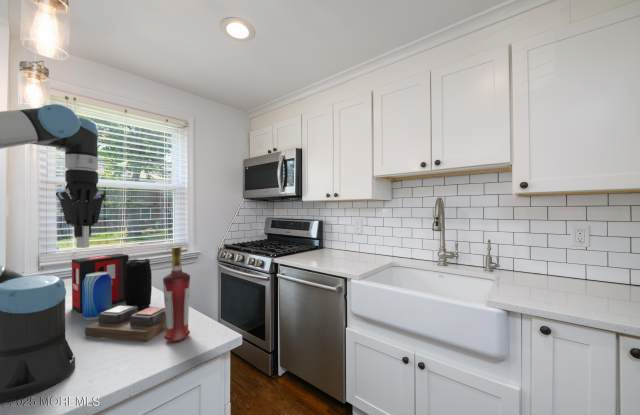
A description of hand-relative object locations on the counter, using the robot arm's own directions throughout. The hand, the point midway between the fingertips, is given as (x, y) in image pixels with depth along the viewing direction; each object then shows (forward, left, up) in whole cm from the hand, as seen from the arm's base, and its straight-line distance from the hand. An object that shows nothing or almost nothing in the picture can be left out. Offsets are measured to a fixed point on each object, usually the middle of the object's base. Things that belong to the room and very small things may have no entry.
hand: (82, 247), depth 82 cm
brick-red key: (+9, -15, -24) cm, 30 cm away
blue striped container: (+16, +14, -29) cm, 36 cm away
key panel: (+9, -9, -28) cm, 31 cm away
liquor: (+5, -28, -29) cm, 40 cm away
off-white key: (+9, -3, -24) cm, 26 cm away
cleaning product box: (+27, +25, -29) cm, 47 cm away
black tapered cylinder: (+25, +5, -29) cm, 38 cm away
